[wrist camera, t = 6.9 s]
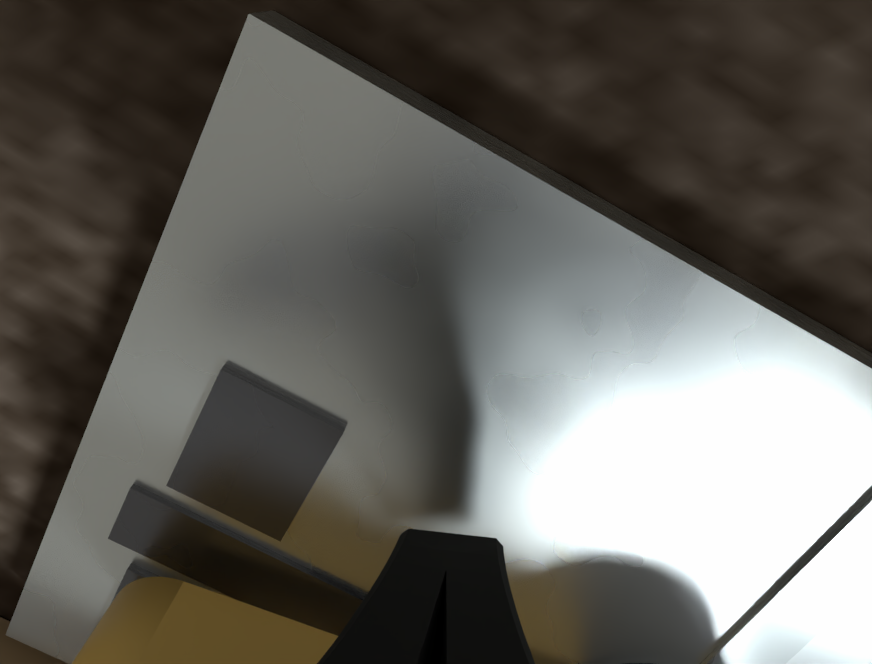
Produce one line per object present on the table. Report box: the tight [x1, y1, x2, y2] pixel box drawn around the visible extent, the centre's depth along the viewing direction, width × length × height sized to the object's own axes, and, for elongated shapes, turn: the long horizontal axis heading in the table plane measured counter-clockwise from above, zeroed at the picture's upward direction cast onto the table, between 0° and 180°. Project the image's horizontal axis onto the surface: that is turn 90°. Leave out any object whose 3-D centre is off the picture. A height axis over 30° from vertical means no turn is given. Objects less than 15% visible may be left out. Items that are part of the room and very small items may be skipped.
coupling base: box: [6, 10, 872, 664], centre depth 13 cm, size 13×16×1 cm
